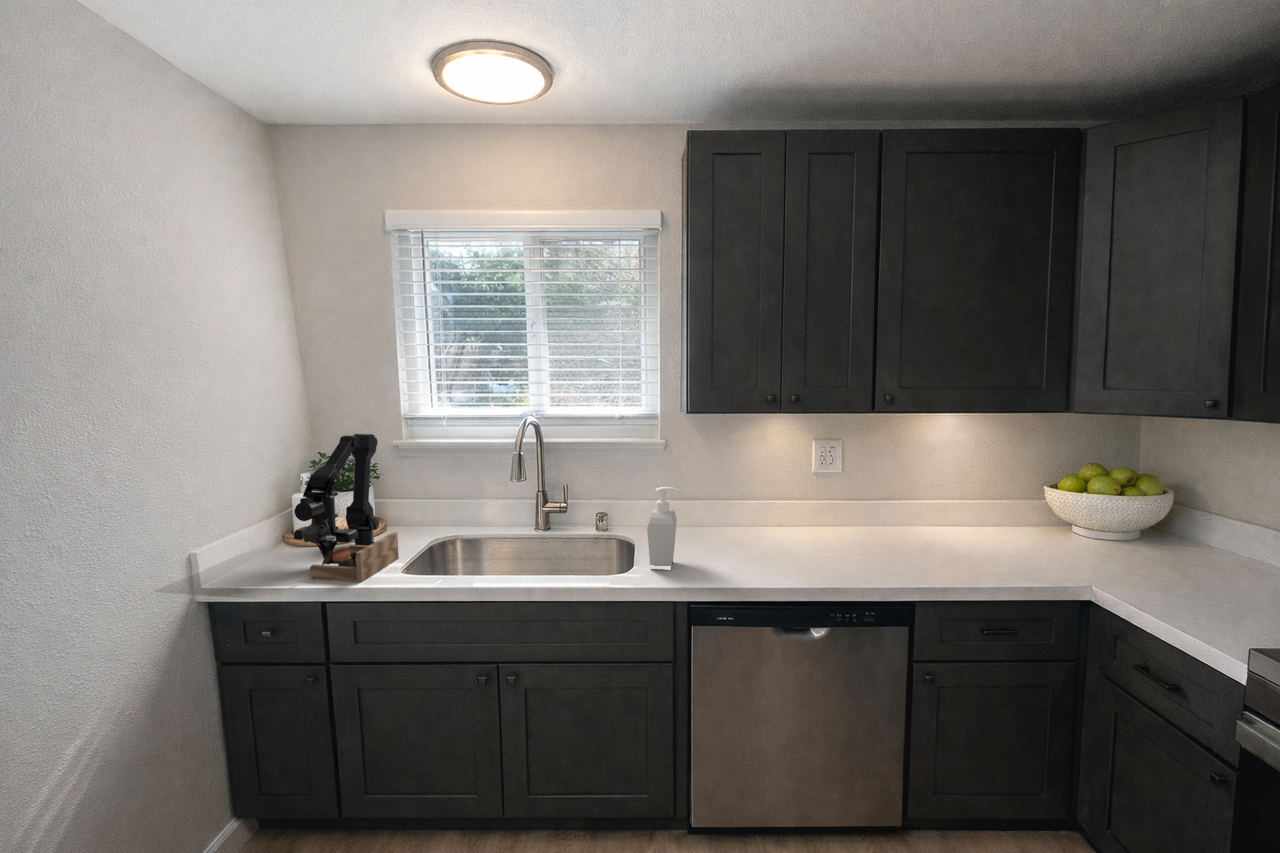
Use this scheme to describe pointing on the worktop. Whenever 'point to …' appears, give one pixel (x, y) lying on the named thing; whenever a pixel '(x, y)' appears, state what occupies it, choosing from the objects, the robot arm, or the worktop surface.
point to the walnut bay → (361, 561)
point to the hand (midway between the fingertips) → (327, 560)
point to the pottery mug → (340, 558)
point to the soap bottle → (662, 531)
